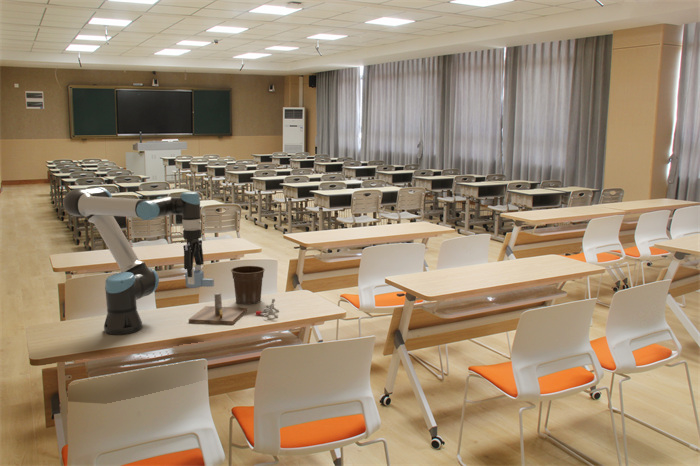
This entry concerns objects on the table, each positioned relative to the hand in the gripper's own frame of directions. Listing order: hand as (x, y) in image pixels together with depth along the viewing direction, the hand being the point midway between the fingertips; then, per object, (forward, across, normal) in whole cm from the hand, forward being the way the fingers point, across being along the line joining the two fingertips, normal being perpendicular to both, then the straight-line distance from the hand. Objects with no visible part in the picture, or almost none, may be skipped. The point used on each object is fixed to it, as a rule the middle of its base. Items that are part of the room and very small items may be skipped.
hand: (195, 281), depth 252 cm
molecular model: (+20, +19, -26) cm, 38 cm away
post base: (+19, +13, -5) cm, 24 cm away
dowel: (+18, +7, -8) cm, 21 cm away
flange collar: (+2, 0, -2) cm, 3 cm away
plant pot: (+20, +39, -10) cm, 45 cm away
